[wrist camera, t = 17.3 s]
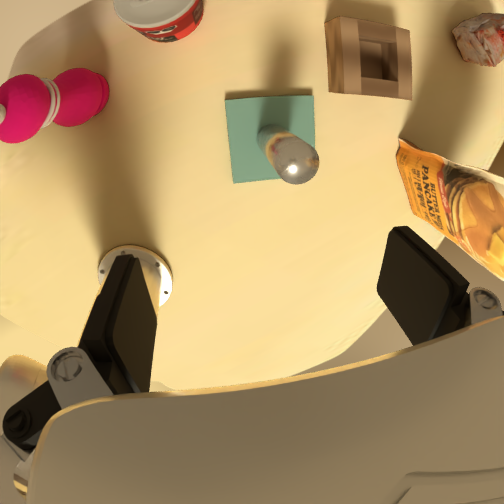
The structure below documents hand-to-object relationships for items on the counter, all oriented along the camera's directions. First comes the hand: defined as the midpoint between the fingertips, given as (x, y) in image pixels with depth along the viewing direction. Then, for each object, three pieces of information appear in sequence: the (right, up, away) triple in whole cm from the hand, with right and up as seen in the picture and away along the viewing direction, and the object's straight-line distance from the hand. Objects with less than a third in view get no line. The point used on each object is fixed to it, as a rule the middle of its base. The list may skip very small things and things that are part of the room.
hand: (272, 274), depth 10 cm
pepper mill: (-22, +21, +18) cm, 35 cm away
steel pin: (+2, +15, +24) cm, 29 cm away
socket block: (+14, +26, +20) cm, 36 cm away
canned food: (-10, +29, +15) cm, 34 cm away
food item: (+37, +38, +16) cm, 55 cm away
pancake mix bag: (+26, +13, +31) cm, 42 cm away
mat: (+2, +16, +25) cm, 30 cm away
